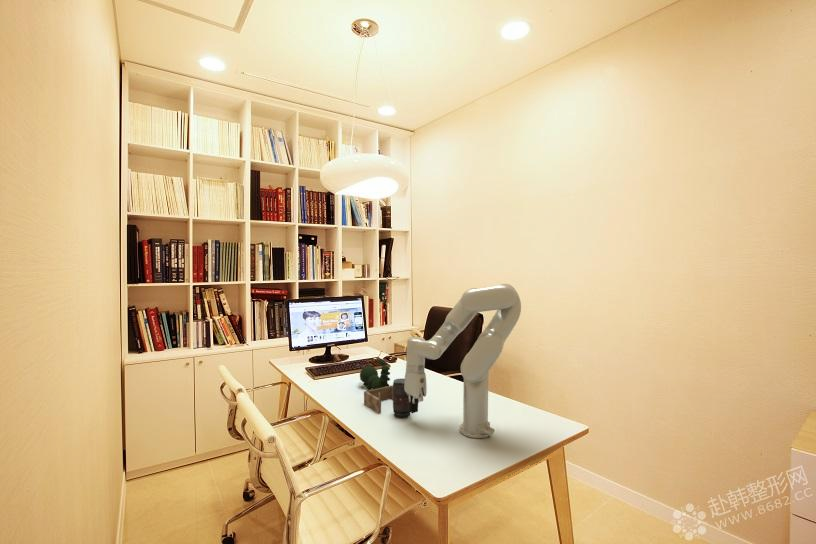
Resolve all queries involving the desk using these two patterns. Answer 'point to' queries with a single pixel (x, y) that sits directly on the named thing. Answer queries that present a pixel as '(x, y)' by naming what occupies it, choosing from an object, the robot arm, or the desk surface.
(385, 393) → the walnut bay
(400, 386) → the dark barrel
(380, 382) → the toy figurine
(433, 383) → the desk surface
